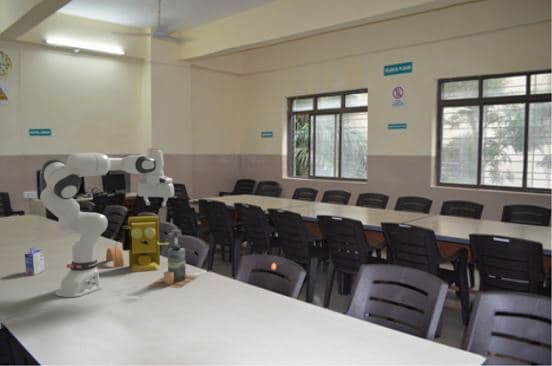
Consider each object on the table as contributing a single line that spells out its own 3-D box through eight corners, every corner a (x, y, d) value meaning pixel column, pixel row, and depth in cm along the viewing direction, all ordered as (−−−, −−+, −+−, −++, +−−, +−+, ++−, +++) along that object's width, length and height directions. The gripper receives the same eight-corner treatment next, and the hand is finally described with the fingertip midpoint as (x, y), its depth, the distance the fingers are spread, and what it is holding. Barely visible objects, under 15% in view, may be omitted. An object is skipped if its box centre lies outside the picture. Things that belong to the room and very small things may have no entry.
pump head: (172, 248, 232) (171, 233, 231) (165, 248, 233) (164, 233, 232) (181, 244, 242) (181, 230, 241) (174, 244, 243) (174, 229, 242)
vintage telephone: (113, 273, 258) (111, 221, 256) (115, 267, 272) (113, 217, 269) (169, 269, 267) (168, 219, 264) (168, 263, 280) (167, 215, 277)
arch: (113, 268, 270) (113, 251, 269) (106, 260, 287) (105, 245, 286) (123, 266, 273) (123, 250, 272) (115, 259, 290) (115, 244, 289)
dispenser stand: (180, 291, 227) (179, 252, 225) (148, 287, 232) (147, 250, 230) (199, 278, 248) (199, 243, 246) (170, 275, 253) (169, 241, 251)
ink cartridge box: (36, 270, 265) (35, 245, 264) (45, 270, 265) (43, 246, 263) (25, 275, 255) (24, 249, 254) (34, 275, 255) (33, 249, 254)
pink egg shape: (170, 285, 231) (170, 274, 230) (162, 285, 232) (161, 273, 231) (175, 282, 235) (175, 271, 235) (167, 282, 237) (166, 270, 236)
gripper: (134, 179, 239) (135, 205, 240) (169, 180, 234) (170, 206, 235) (141, 178, 245) (142, 203, 246) (175, 179, 240) (175, 205, 241)
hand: (155, 205), depth 241 cm, fingers open, 8 cm apart
